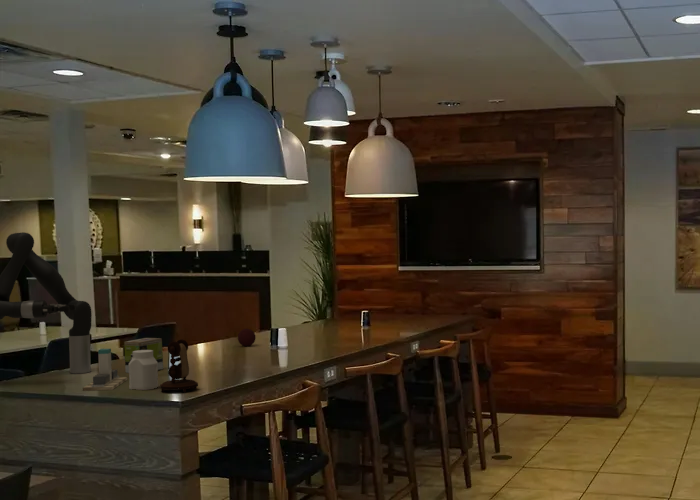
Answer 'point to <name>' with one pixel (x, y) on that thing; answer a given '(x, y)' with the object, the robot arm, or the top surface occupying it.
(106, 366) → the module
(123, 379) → the rail board
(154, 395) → the top surface
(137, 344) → the tea box
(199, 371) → the top surface
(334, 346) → the top surface
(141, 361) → the jar
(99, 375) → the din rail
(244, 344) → the decorative ball
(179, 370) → the dark brown sculpture
